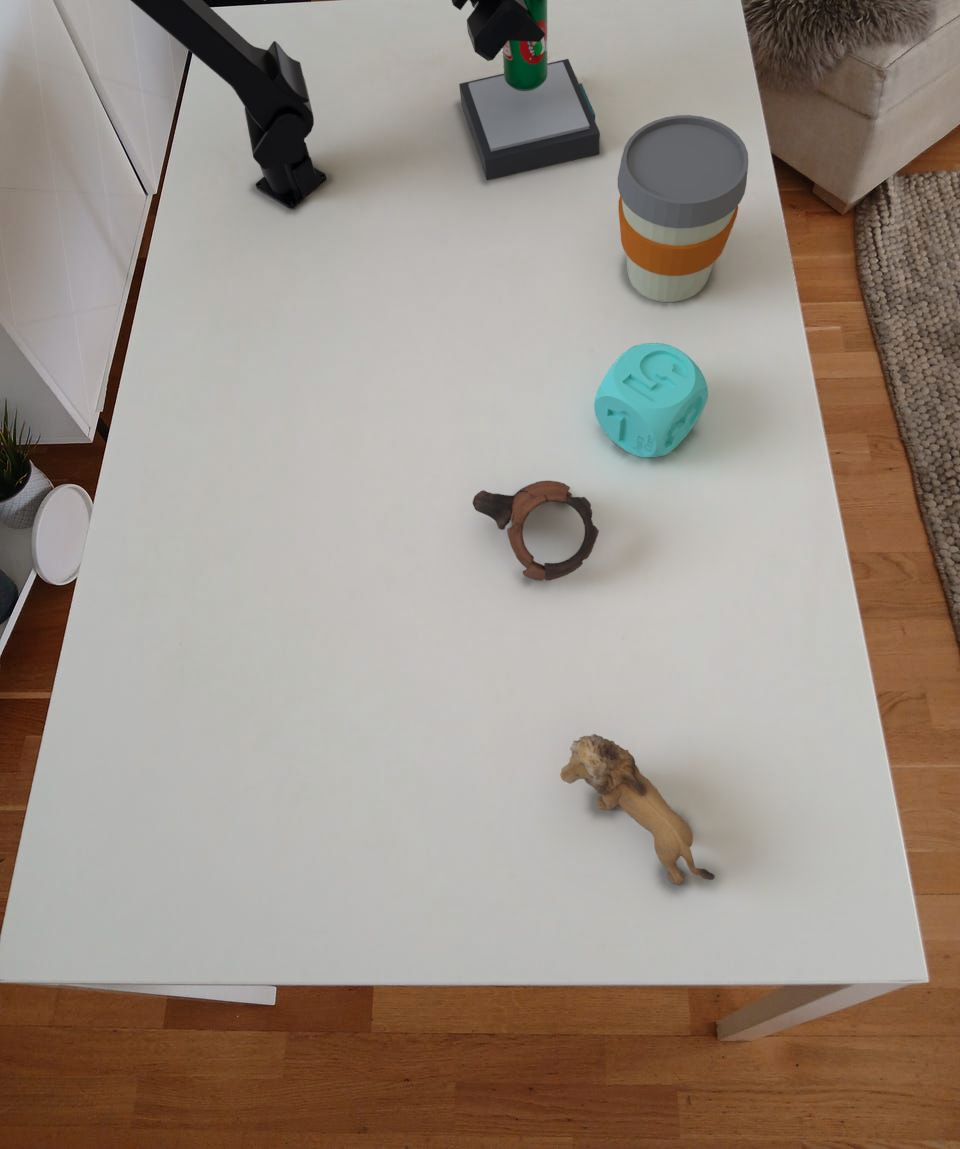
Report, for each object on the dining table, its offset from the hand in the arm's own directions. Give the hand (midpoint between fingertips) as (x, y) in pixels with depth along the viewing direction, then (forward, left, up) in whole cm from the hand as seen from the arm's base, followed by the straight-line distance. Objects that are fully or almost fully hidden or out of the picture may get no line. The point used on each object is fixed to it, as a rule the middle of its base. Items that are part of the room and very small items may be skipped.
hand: (536, 22), depth 101 cm
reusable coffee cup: (+26, -10, -13) cm, 31 cm away
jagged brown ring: (+35, -45, -13) cm, 59 cm away
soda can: (-1, -1, -7) cm, 7 cm away
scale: (-1, -1, -13) cm, 13 cm away
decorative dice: (+36, -28, -13) cm, 48 cm away
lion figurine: (+58, -61, -13) cm, 85 cm away
